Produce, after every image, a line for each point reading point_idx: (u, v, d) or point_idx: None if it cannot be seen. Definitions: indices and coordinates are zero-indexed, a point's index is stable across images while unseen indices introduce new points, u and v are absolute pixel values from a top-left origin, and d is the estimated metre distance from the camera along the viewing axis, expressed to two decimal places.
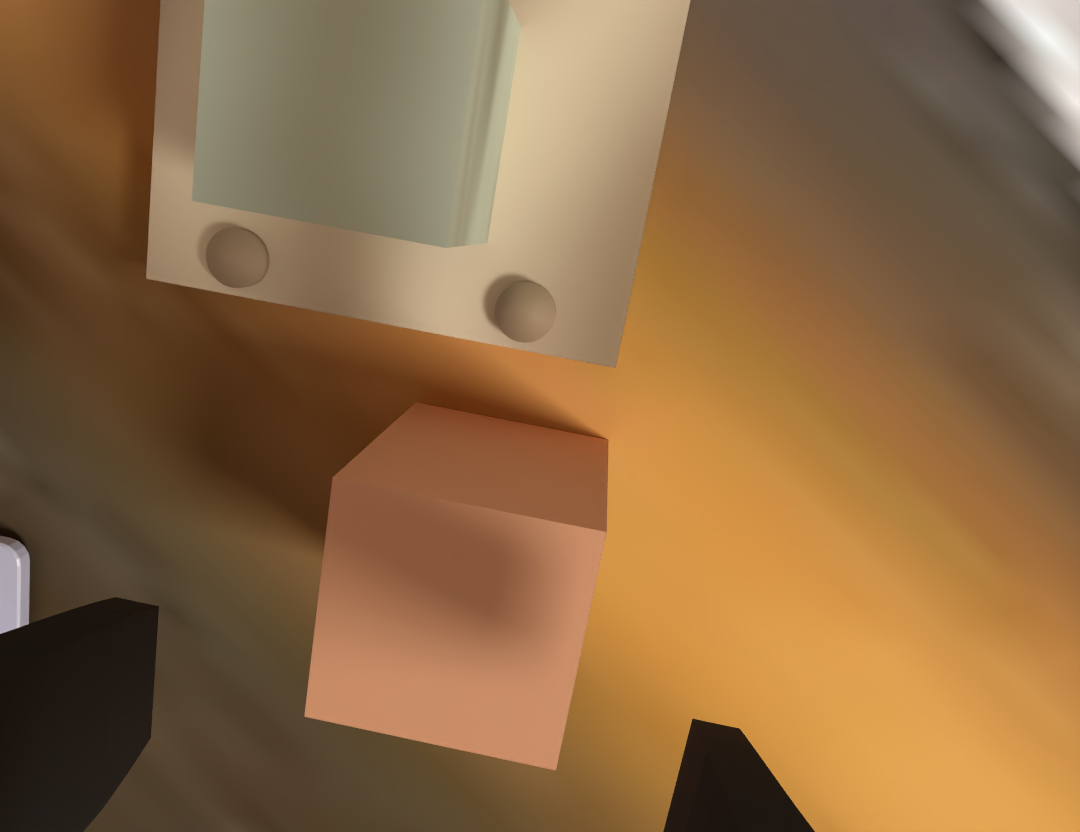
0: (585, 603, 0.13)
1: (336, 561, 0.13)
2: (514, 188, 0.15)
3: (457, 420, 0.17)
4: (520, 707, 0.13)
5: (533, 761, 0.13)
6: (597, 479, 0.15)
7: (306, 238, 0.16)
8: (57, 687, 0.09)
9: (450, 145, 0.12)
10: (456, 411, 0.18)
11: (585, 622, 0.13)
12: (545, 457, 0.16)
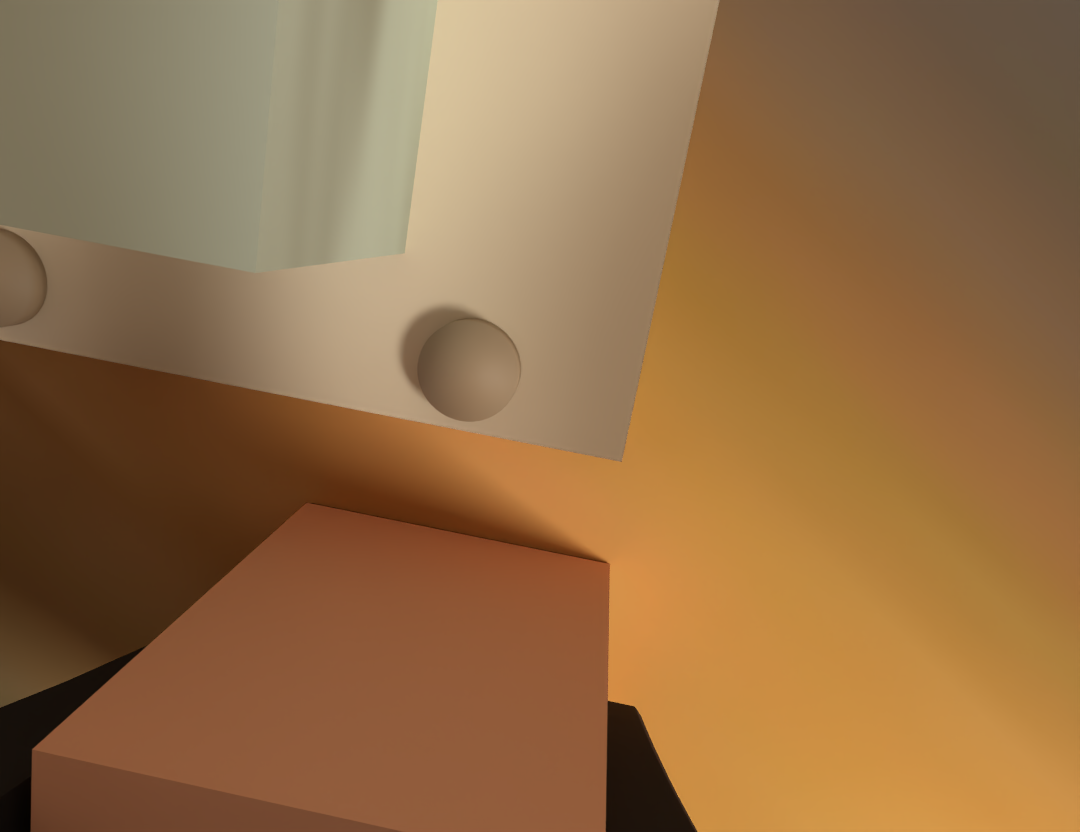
0: None
1: None
2: (448, 160, 0.09)
3: (365, 542, 0.10)
4: None
5: None
6: (590, 677, 0.08)
7: (105, 245, 0.10)
8: None
9: (249, 41, 0.05)
10: (368, 519, 0.11)
11: None
12: (501, 623, 0.09)
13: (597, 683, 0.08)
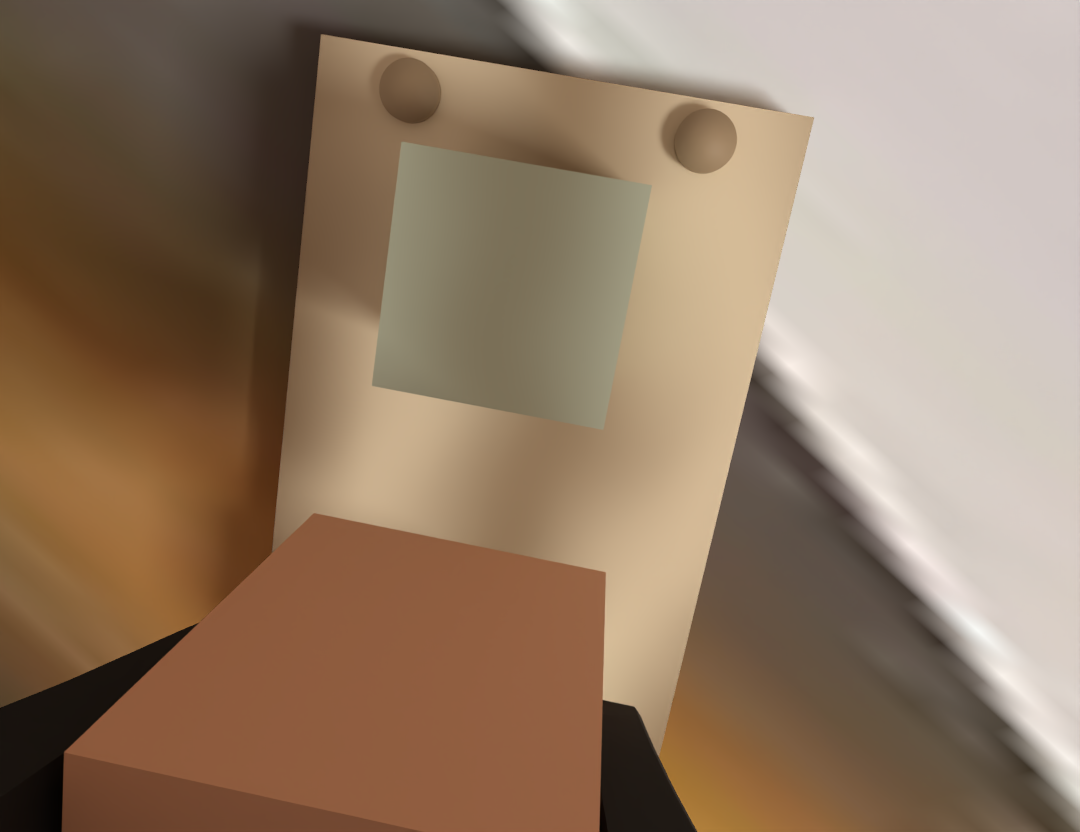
0: None
1: None
2: None
3: (369, 551, 0.11)
4: None
5: None
6: (586, 682, 0.09)
7: None
8: None
9: None
10: (373, 529, 0.12)
11: None
12: (501, 631, 0.09)
13: (592, 688, 0.09)
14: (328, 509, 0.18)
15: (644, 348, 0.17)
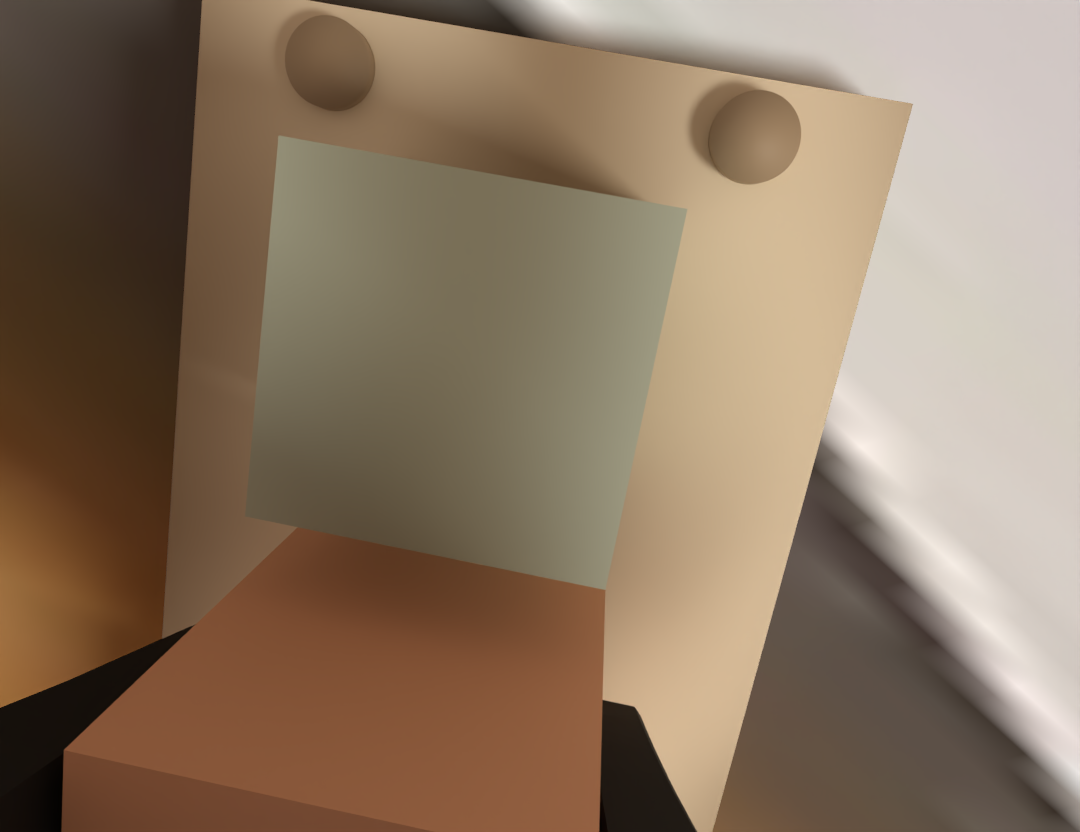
0: None
1: None
2: None
3: (370, 550, 0.11)
4: None
5: None
6: (585, 680, 0.09)
7: None
8: None
9: None
10: None
11: None
12: (501, 630, 0.09)
13: (592, 686, 0.09)
14: None
15: (663, 427, 0.12)
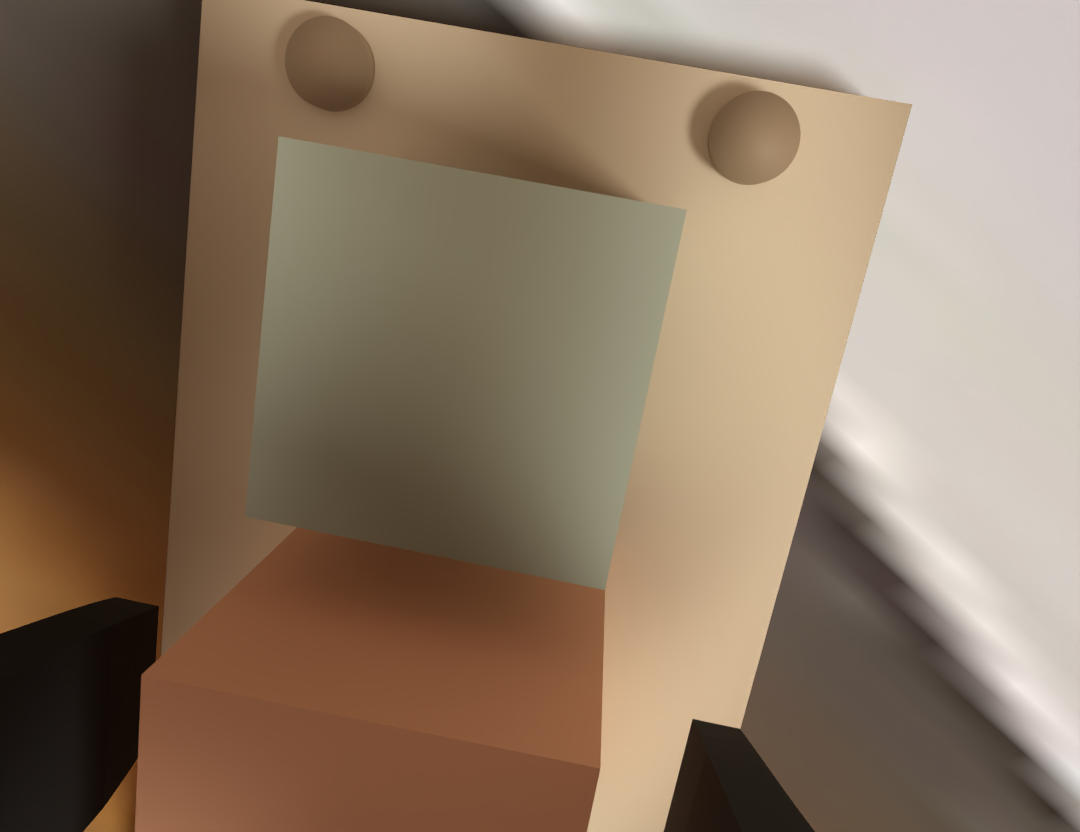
0: None
1: (158, 805, 0.08)
2: None
3: None
4: None
5: None
6: (588, 627, 0.10)
7: None
8: (56, 688, 0.09)
9: None
10: None
11: None
12: (512, 585, 0.10)
13: (595, 632, 0.10)
14: None
15: (662, 427, 0.12)
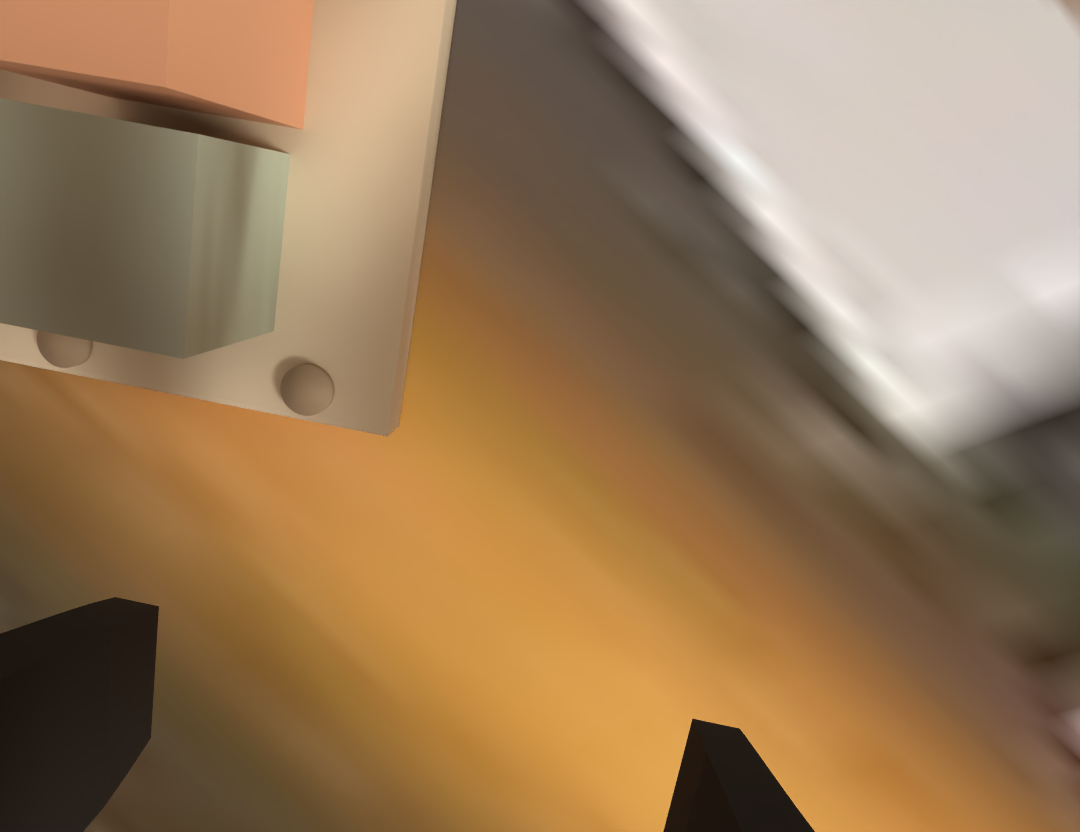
0: None
1: None
2: (293, 286, 0.18)
3: None
4: (118, 5, 0.12)
5: (144, 83, 0.12)
6: None
7: None
8: (57, 688, 0.09)
9: (179, 278, 0.14)
10: None
11: None
12: None
13: None
14: None
15: None
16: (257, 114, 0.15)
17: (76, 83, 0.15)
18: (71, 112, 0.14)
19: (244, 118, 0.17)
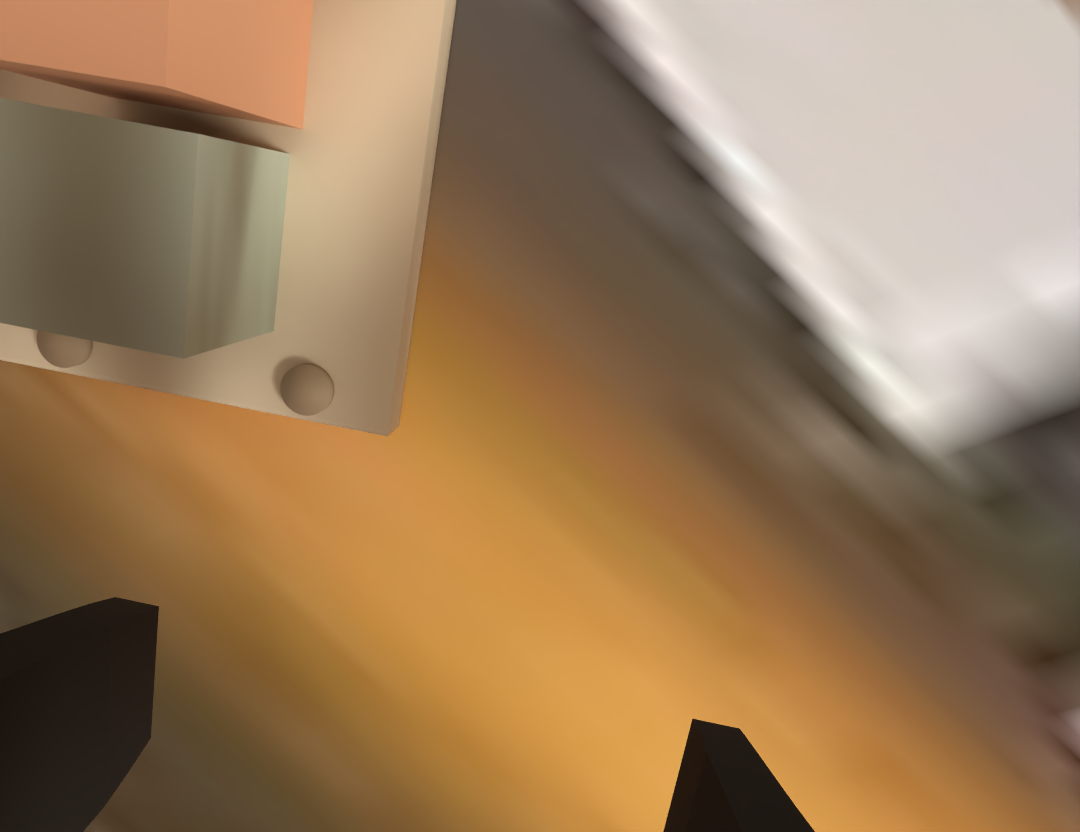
0: None
1: None
2: (293, 286, 0.18)
3: None
4: (117, 4, 0.12)
5: (144, 83, 0.12)
6: None
7: None
8: (57, 687, 0.09)
9: (179, 278, 0.14)
10: None
11: None
12: None
13: None
14: None
15: None
16: (257, 114, 0.15)
17: (76, 83, 0.15)
18: (71, 112, 0.14)
19: (244, 118, 0.17)
